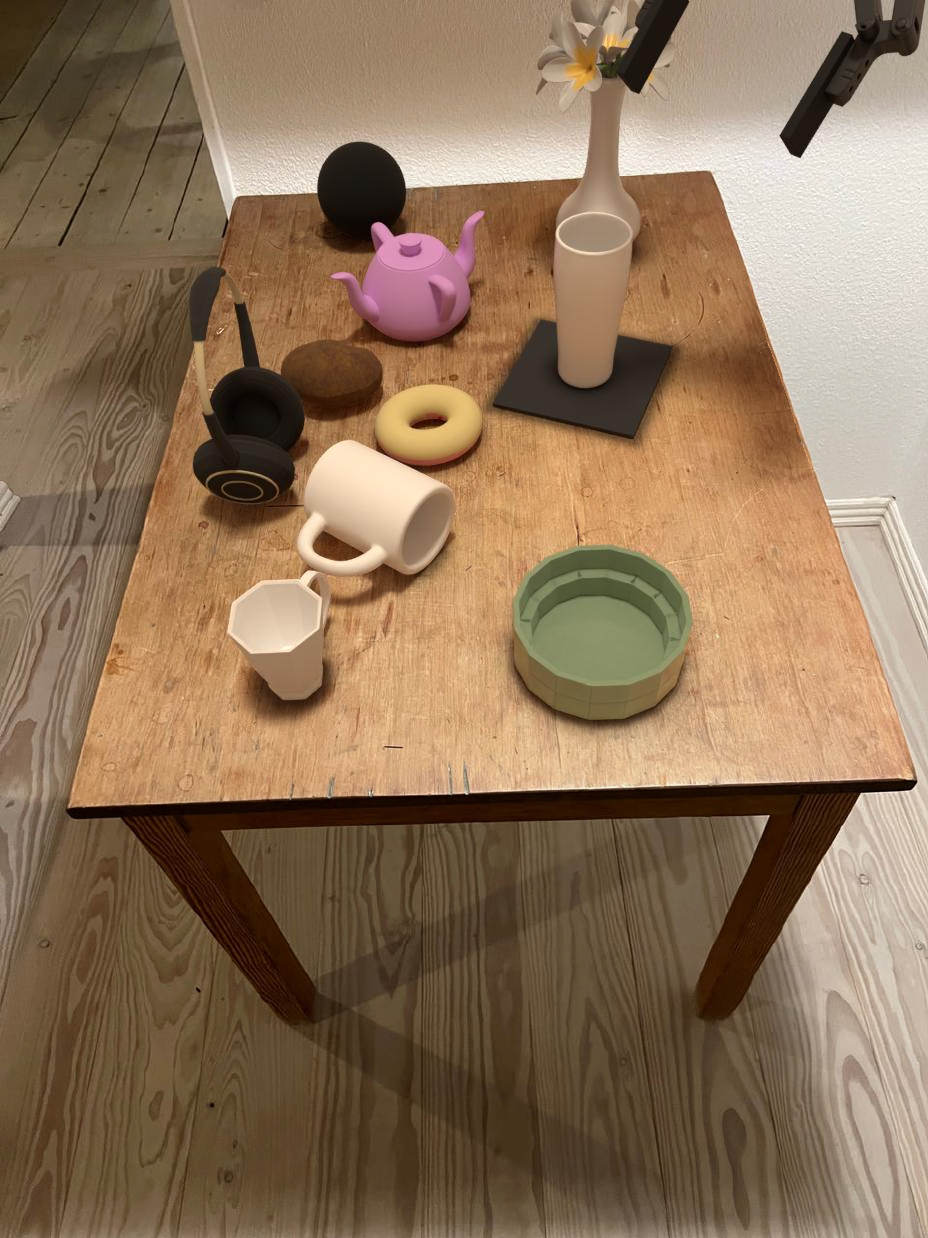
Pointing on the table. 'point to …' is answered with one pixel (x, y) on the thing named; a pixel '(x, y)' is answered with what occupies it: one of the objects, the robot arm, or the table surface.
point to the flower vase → (598, 97)
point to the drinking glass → (590, 294)
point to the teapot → (414, 283)
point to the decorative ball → (361, 189)
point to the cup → (283, 632)
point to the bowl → (600, 631)
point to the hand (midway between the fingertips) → (704, 114)
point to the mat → (595, 408)
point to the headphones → (242, 411)
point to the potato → (332, 373)
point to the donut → (432, 442)
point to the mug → (374, 512)
